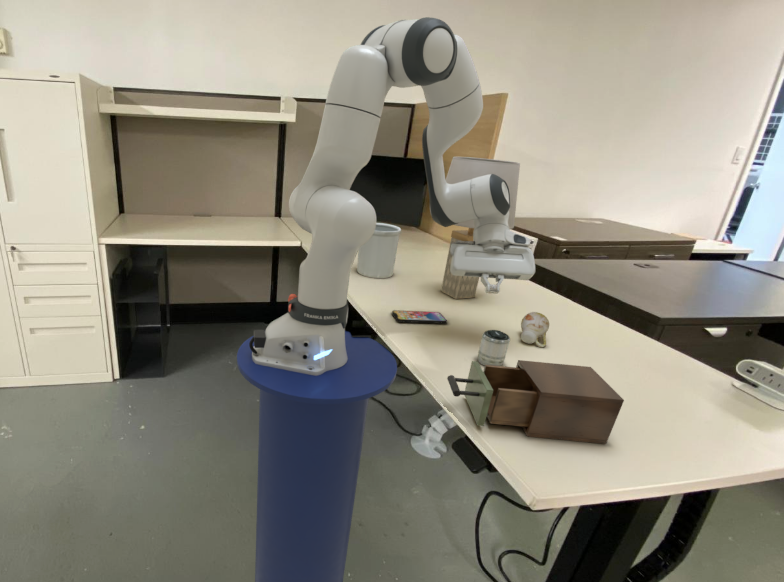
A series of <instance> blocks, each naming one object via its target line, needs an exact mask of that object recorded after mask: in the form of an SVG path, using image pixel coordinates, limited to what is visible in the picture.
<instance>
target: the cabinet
mask: <svg viewBox="0 0 784 582" xmlns="http://www.w3.org/2000/svg"><path fill="white" fill-rule="evenodd" d="M515 368H521V370H522V371H523V372H524V374H525V375H526V377H527V378H528V379H529V381H530V382H531V384H532V385H533V387H534V388H535V389H536V391H537V392H538V396H537V400H536V403H535V406H534V409H533V412H532V415H531V418H530V421H529V425H528V427H523V426H520V427H521V428H522V430H523V432H524V433H525V436H526V437H530V438H539V439H540V438H541V439H552V440H561V441H573V442H582V443H591V444H603V445H606V444H607V442H608V441H609V438H610V436H611V433H612V431H613V428H614V426H615V424H616V422H617V419H618V416H619V414H620V411H621V409H622V406H623V404H624V402H625V400H624V398H623V397H622V396H621V395H620V394H619V393H618V392H617V391H616V390H615V389H614V388H612V386H611V385H610V384H609V383H608V382H606V380H604V378H602V376H600V374H598V372H597V371H596V370H594V368H593V367H592V366H584V365H576V364H575V365H573V364H566V363H565V364H564V363H554V362H544V361H543V362H542V361H534V360H533V361H532V360H523V359H522V360H521V359H517V362H516V366H515Z"/></svg>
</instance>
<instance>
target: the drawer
mask: <svg viewBox="0 0 784 582" xmlns="http://www.w3.org/2000/svg"><path fill="white" fill-rule="evenodd" d="M446 379H447V382H448V385H449V387H450V390H451V392H452V395H453V396H454V397H455V398H456V397H460V396H464V397H465V400H466V402H467V404H468V407H469V409H470V411H471V413H472V416H473V418H474V422H475V423H476V425H477V426H479V427H484V426H485V424H486V419H488V421H489V424H495V425H505V426H514V427H521V426H523V427H528V425H529V421H530V418H531V415H532V412H533V409H534V406H535V403H536V400H537V396H538V392H537V391H536V389H535V388H534V387H533V385H532V384H531V382H530V381H529V379H528V378H527V377H526V375H525V374H524V372H523V371H522V370H521V368H516V366H515V367H514V366H503V365H502V366H494V365H485V366H484V367H483V369H482V367H481V364H480V363H479V361H478V360H477V361H475V360H471V363H470V367H469V371H468V375H467V378H463V377H462V378H461V377H455V375H452V374H449V375H448V376H447V377H446ZM458 383H464V384H465V383H466V385H465V388H464V390H460V387H459V385H458Z"/></svg>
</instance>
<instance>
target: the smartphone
mask: <svg viewBox="0 0 784 582" xmlns="http://www.w3.org/2000/svg"><path fill="white" fill-rule="evenodd" d="M391 315H392V316H393V317H394V319H395V321H396V322H398V323H413V324H439V325H440V324H442V325H445V324H447V323H448V319H447V318H446V317H445V316H444V315H443V314H442V313H441V312H439V311H423V310H397V309H396V310H395V309H394V310H392V312H391Z"/></svg>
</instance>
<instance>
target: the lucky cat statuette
mask: <svg viewBox="0 0 784 582" xmlns="http://www.w3.org/2000/svg"><path fill="white" fill-rule="evenodd" d="M520 328H521V329H520V330H521V334H520V340H521V341H522V342H524V343H525V344H529V345H531V344H535V345H536V346H537V347H539V348H544V347H546V346H547V332H548V331H549V329H550V321H549V319H548V317H547V316H546V315H545V314H543V313H541V312H538V311H532V312H531V311H530V312H528V313H526V314H525V315H524V316H523V317H522V319H521V321H520ZM539 338H541V339H542V343H540V342H539Z"/></svg>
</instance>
